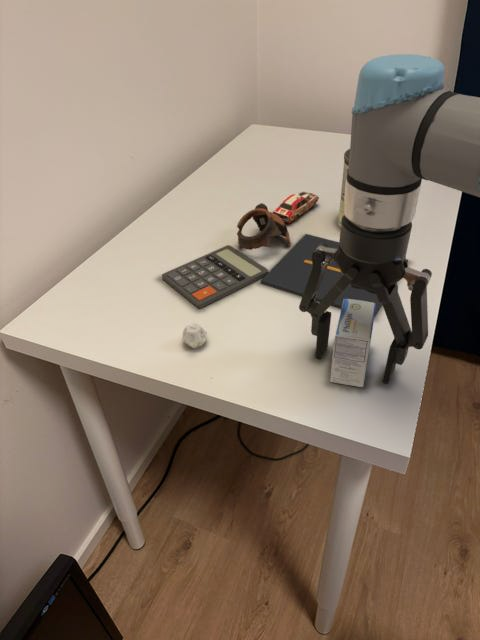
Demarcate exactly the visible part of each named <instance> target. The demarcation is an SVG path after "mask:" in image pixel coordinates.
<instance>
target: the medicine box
mask: <svg viewBox="0 0 480 640" xmlns="http://www.w3.org/2000/svg"><path fill="white" fill-rule="evenodd" d="M375 307H376V303H373V302H367V301H361V300H354V299H344V300H343V304H342V309H341V308H340V313H339V317H338V318H339V319H338V321H337V325H336V330H335V334H334V338H333V344H332V345H333V346H332V358H331V368H330V378H329V379H330V382H331V383H335V384H340V385H347V386H352V387H358V388H364V384H365V378H366V372H367V367H368V360H369V354H370V350H371V349H370V348H371V342H372V337H373V328H374V321H375V317H374V315H375Z"/></svg>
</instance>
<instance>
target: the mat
mask: <svg viewBox="0 0 480 640" xmlns="http://www.w3.org/2000/svg"><path fill="white" fill-rule="evenodd" d="M321 243H326V244H328V246H329V248H334V249H338V248H339V241H335V240H331V239H328V238H323V237H319V236H316V235H312V234H308V233H305V234H304V235H303V236H302V237H301V238H300V239H299V240H298V242H296V244H294V246H292V247H291V248H290V250H289V251H288V252H287V253H286V254H285V255H284V256H283V257H282V258H281V259H280V260H279V261H278V262H277V263H276V264H275V265H274V266H273V267H272V268H271V269H270V270H269V271H268V274H267V275H266V276H264V277H262V278H261V280H260V284H262V285H264V286H265V285H266V286H268V287H271V288H274V289H277V290H281V291H283V292H287V293H291V294H294V295H296V296H299V297H302V296H303V294H304V291H305V288H306V285H307V282H308V279H309V276H310V273H311V271H312V268H313V266H312V253H313V252H314V251H315V250H316V249H317V248H318V247H319V245H320V244H321ZM406 262H407V264H408V263H409V259H407V258H406ZM342 275H343V274H342V272H341V271H340V269H339V267H338V265H337V264H336V262H335V260H332V262H331V263H330V264H329V265H328V266H327V269H326V272H325V274H324V277H323V280H322V282H321V285H320V288H319V290H318V293H317V295H316V298H315V301H316V302H318V303H320V302H321V301H322V299H323V298H324V297H325V296H326V295H327V293H328V292H329V291H330V290H331V289H332V287H333V286H334V285H335V284H336V282H337V281H338V280H339V279H340V278H341V276H342ZM344 299H354V300H361V301H367V302H373V303H376V307H375V315H374V318H376V315H377V314H378V313H379V311H380V309H381V308H382V307H383V305H382V303H380V302H379V300H378V297H377V295H376V294H373V293H370V292H368V291H366V290H364V289H356V288H352V287H351V285H350V284H349V285H348V286H347V287H346V288H345V289H344V291H343V292H342V293H341V294H340V295H339V296H338V297H337V298H336V300H335V301H334V302H333V303H332V304H331V305H330V307H331V306H332V307H335V308H338V309H340V310H341V309H342V304H343V300H344Z"/></svg>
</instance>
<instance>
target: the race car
mask: <svg viewBox="0 0 480 640" xmlns="http://www.w3.org/2000/svg"><path fill="white" fill-rule="evenodd" d="M319 198H320V197H319V195H316V194H314V193H313V192H306V191H301V192H299V193H297V194H296V193H294V194H290V195H289V196H288V197H286V198H285V199H284V200H283V201H282V202H281V203H280V204H279V206H277V207H276V209H275V210H274V211H272V213H274V214H276V215H278V216H279V217H280V218H281V219H282V220H283V221H284V223H288V224H290V223H292V222H295V221H297V220H298V218H299V217H301V216H303V214H305V213H306V212H307V211H309V210H310V209H315V206H316V204H317V203H318V202H319V200H320V199H319Z"/></svg>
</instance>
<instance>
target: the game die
mask: <svg viewBox="0 0 480 640" xmlns="http://www.w3.org/2000/svg"><path fill="white" fill-rule="evenodd" d="M207 333H208V331H206V330H205V329H204V328H203V327H202V326H201V325H199V324H197V323H196V322H193V323H191V324H189V325H185V328H184V329H183V331H182V336H181V341H183V342H184V343H185V344H186V345H187V346H189V347H190V348H192V349H198V348H199V347H202V346H203V345H204V344H205V343H206V341H207Z"/></svg>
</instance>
